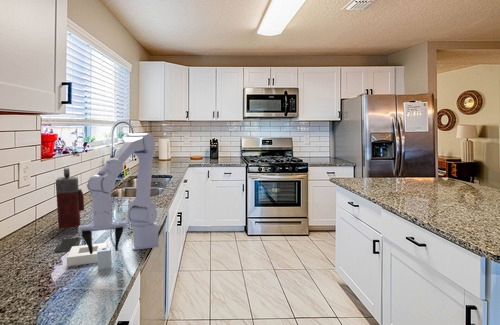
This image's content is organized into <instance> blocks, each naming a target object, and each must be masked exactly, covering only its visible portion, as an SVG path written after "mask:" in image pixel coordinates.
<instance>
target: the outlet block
mask: <svg viewBox="0 0 500 325" xmlns="http://www.w3.org/2000/svg"><path fill="white" fill-rule="evenodd" d="M108 245H109V244H108V242H102V243H92V246H93V253H92V254H90V251H89V248H88V246H87V244H82V245H79V246H72V248H71V250H70V251H68V254H67V255H66V266H67V267H71V266H72V267H73V266H79V265H80V266H81V265H87V264H89V265H90V264H94V263H95V264H97V263H98V259H97V250H98V248H103V247H109V246H108Z"/></svg>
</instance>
